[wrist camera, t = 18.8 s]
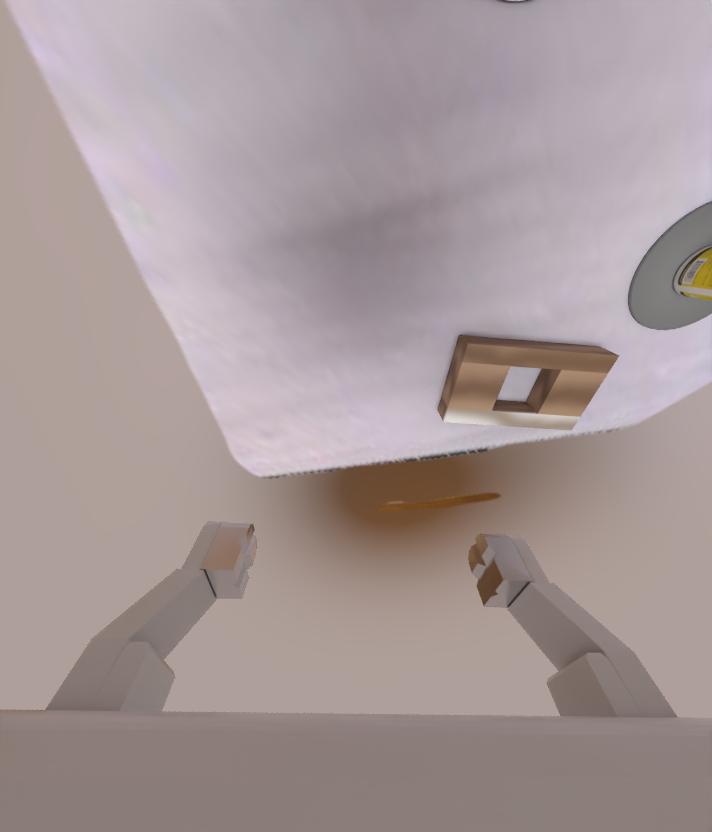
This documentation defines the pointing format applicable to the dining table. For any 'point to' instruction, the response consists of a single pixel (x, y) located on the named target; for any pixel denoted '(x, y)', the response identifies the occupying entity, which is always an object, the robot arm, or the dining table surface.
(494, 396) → the walnut dispenser block
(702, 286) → the supplement bottle
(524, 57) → the dining table surface
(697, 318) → the slate mat
